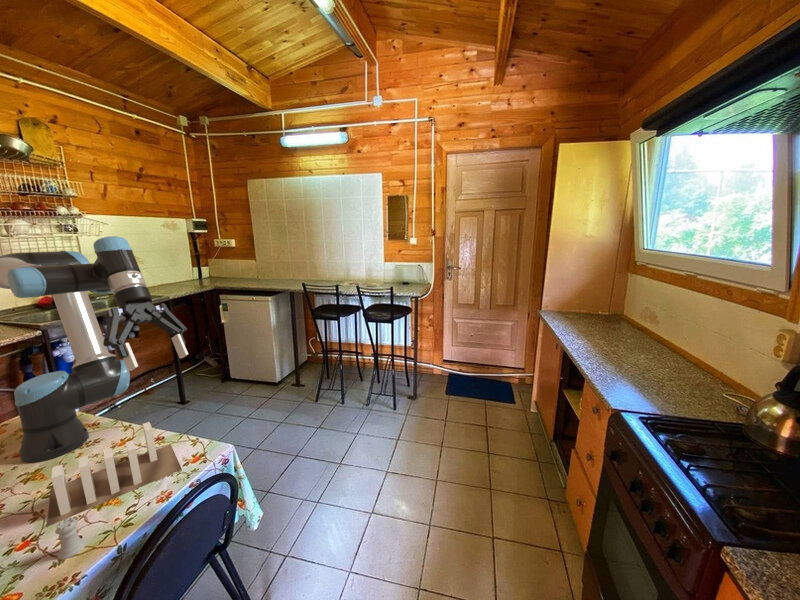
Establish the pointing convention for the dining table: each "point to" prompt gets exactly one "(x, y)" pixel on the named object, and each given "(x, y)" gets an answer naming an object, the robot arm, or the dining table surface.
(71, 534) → the rook chess piece
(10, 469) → the dining table surface
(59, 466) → the domino
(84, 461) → the domino
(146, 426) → the domino
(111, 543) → the dining table surface
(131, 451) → the domino
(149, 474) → the walnut board
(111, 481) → the domino
